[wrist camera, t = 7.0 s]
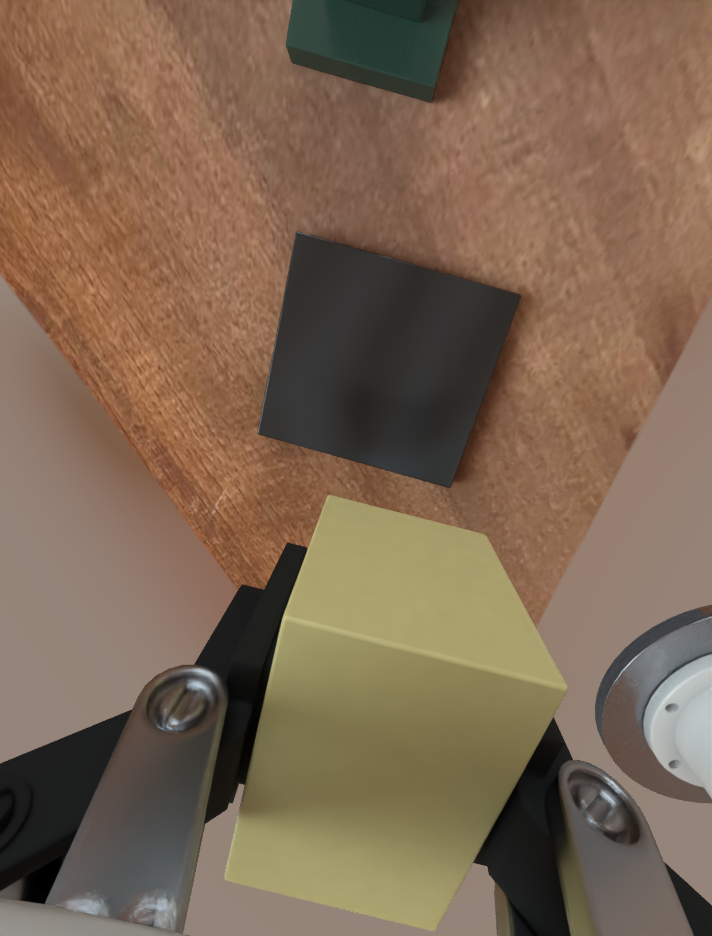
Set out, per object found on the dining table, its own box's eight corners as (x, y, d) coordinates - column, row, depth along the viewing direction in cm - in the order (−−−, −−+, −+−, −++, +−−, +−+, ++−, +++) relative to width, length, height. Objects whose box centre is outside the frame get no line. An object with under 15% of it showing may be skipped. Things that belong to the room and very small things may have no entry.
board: (516, 297, 21) (522, 294, 20) (447, 483, 24) (450, 488, 23) (300, 236, 21) (296, 230, 20) (262, 430, 24) (256, 434, 23)
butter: (486, 533, 9) (571, 689, 5) (416, 711, 11) (436, 934, 7) (328, 493, 9) (281, 616, 5) (283, 678, 11) (222, 881, 7)
